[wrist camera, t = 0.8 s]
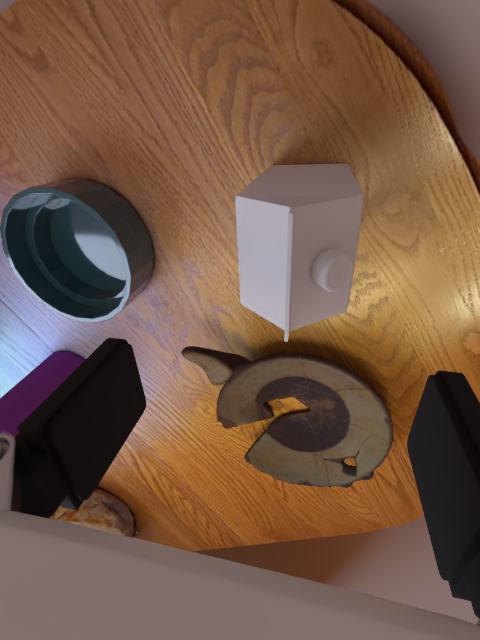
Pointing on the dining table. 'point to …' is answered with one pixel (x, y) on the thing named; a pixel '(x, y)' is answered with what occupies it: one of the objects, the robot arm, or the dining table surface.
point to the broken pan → (302, 415)
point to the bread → (100, 514)
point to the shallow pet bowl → (77, 248)
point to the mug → (35, 389)
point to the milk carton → (298, 242)
